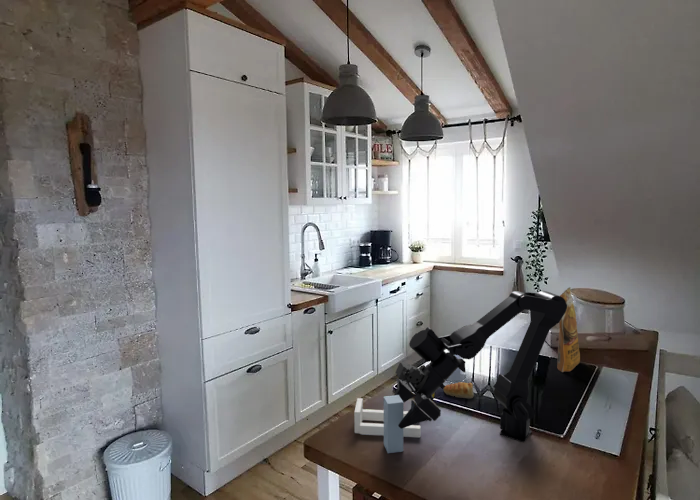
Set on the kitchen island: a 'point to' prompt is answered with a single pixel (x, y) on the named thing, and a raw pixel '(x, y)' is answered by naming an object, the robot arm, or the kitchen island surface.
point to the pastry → (460, 390)
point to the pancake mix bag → (568, 337)
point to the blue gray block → (393, 424)
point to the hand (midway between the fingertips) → (394, 417)
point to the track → (376, 428)
